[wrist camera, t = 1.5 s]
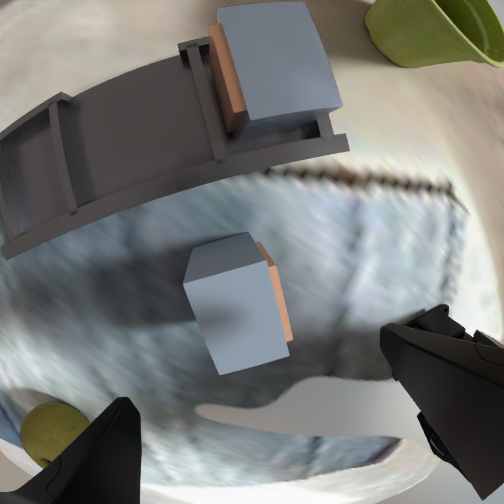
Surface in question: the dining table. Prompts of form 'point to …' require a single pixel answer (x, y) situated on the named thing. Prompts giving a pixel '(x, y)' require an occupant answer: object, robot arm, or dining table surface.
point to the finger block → (238, 303)
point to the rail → (172, 125)
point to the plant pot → (436, 31)
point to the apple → (51, 431)
